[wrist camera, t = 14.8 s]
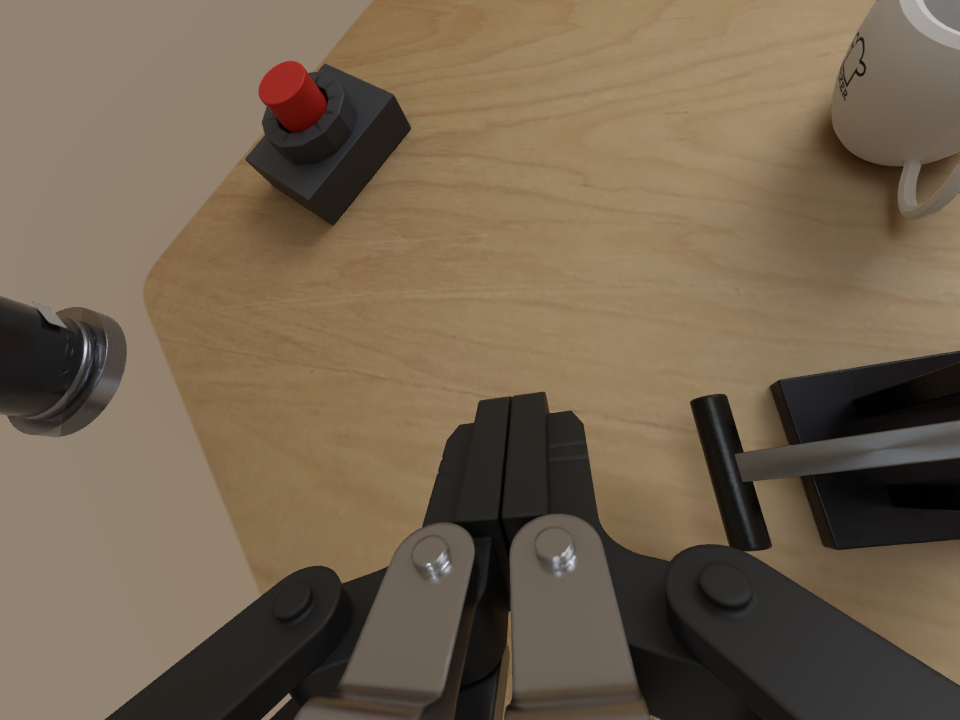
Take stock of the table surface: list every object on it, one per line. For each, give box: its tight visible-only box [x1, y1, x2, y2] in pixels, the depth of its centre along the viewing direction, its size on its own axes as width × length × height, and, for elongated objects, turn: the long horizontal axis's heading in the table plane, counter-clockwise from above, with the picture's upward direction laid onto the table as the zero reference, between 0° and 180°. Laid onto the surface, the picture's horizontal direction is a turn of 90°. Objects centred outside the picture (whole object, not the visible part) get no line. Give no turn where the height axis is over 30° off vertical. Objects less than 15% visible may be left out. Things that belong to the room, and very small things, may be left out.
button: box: [259, 61, 327, 133], centre depth 30 cm, size 4×4×3 cm
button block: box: [245, 64, 411, 225], centre depth 33 cm, size 10×8×5 cm
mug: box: [832, 0, 960, 219], centre depth 21 cm, size 12×8×8 cm
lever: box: [690, 394, 960, 551], centre depth 14 cm, size 13×6×2 cm, turn 97°
